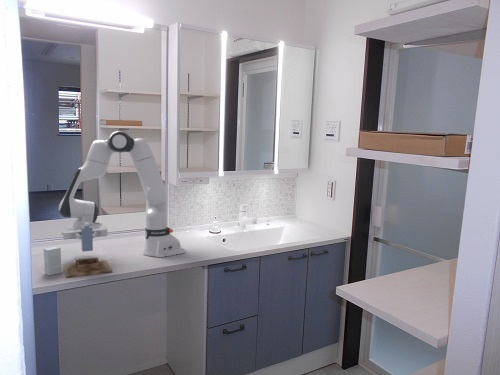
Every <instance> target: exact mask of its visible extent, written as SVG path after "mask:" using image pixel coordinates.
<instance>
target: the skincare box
mask: <svg viewBox="0 0 500 375" xmlns="http://www.w3.org/2000/svg"><path fill="white" fill-rule="evenodd" d="M43 263H44V275H47V276H48V277H49V276H50V277H51V276H53V275H57V274H60V273H61V274H62V254H61V247H59V246H55V245H54V246H51V247H47V248H43Z"/></svg>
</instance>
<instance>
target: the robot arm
mask: <svg viewBox="0 0 500 375" xmlns="http://www.w3.org/2000/svg"><path fill="white" fill-rule="evenodd" d="M114 153H120V154H121V153H129V155H130V158H131V159H132V162H133V165H134V168H135V170H136V173H137V175H138V178H139V181H140V184H141V187H142V189H143V194H144V196H145V199H146V200H145V201H146V204H145V230H144V237H145V242H144V243H145V244H144V248H143V255H145V256H147V257H148V256H149V257H156V258H164V257H165V256H166V257H171V256H177V255H180V254H181V255H182V254H185V253H184V252H186V250H185V248H183V247H182V246H181V242H180V239H178V238H177V237H176V236H175V235H173V234H172V233H173V231H174V230H173V228H171V227H168V223H167V221H168V212H167V211H168V209H167V207H168V199H167V198H168V189H167V185H165V183H164V181H163V179H162V175H161V172H160V169H159V167H158V164H157V161H156V159H155V156H154V153H153V151H152V149H151V147H150V144H148V142H147V140H146V139H145V138H141V137H140V138H139V137H138V138H133V137H131V136H130V135H129V134H128V133H127V132H126V131H125V132H124V131H122V130H117V131H114V132H112V133H111V134H110V135H109V137H108V139H106V140H103V139H97V140H94V141H93V142H92V144H91V145H90V147H89V150H88V152H87V156H86V159H85V162H84V164H83V165H82V166H81V167H78V168H77V169H76V170H75V172H74V175H73V176H72V178H71V180H70V183H69V184H68V187H67V190H66V192H65V194H64V196H63V198H62V199H61V201H60V203H59V205H58V213H59V214H60V215H61V216H62V218H65V219H66V218H69V219H70V218H72V219H74V221H73V223H72V228H66V229H64V230H63V231H61V235H62V238H63V240H67V241H68V240H81V239H82V235H81V226H84V223H89V226H92V232H93V239H95V238H101V237H107V236H108V235H109V234H108V232H109V231H108V228H107V227H106V226H105V225H103V223H101V222H96V221H97V219H98V216H99V207H98V206H97V203H96V202H94V201H89V200H82V199H77V198H74V197H75V194H76V193H77V189H78V188H79V185H80V184H81V183H82V182H84V181H87V180H89V181H90V180H95V179H100V178H101V177H103V176H104V175H106V173H107V171H108V168H109V164H110V161H111V157H112V155H114ZM176 254H177V255H176Z"/></svg>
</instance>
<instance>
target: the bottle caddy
mask: <svg viewBox="0 0 500 375" xmlns="http://www.w3.org/2000/svg"><path fill="white" fill-rule="evenodd" d="M63 270H64V274H65V278H66V279H69V278H76V277H84V276H92V275H100V274H109V272H110V273H113V269H112V266H111V265H110V263H109V261H108V260H99V258H98V257H90V258H89V257H88V258H81V259H75V263H72V264H64V265H63Z"/></svg>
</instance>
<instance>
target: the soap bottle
mask: <svg viewBox="0 0 500 375" xmlns="http://www.w3.org/2000/svg"><path fill="white" fill-rule="evenodd" d="M81 235H82V239H80V240H81V243H80V244H81V252H93V250H94V248H93V247H94V244H93V242H94V240H93V239H94V238H93V232H92V226H89V223H84V226H81Z"/></svg>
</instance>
